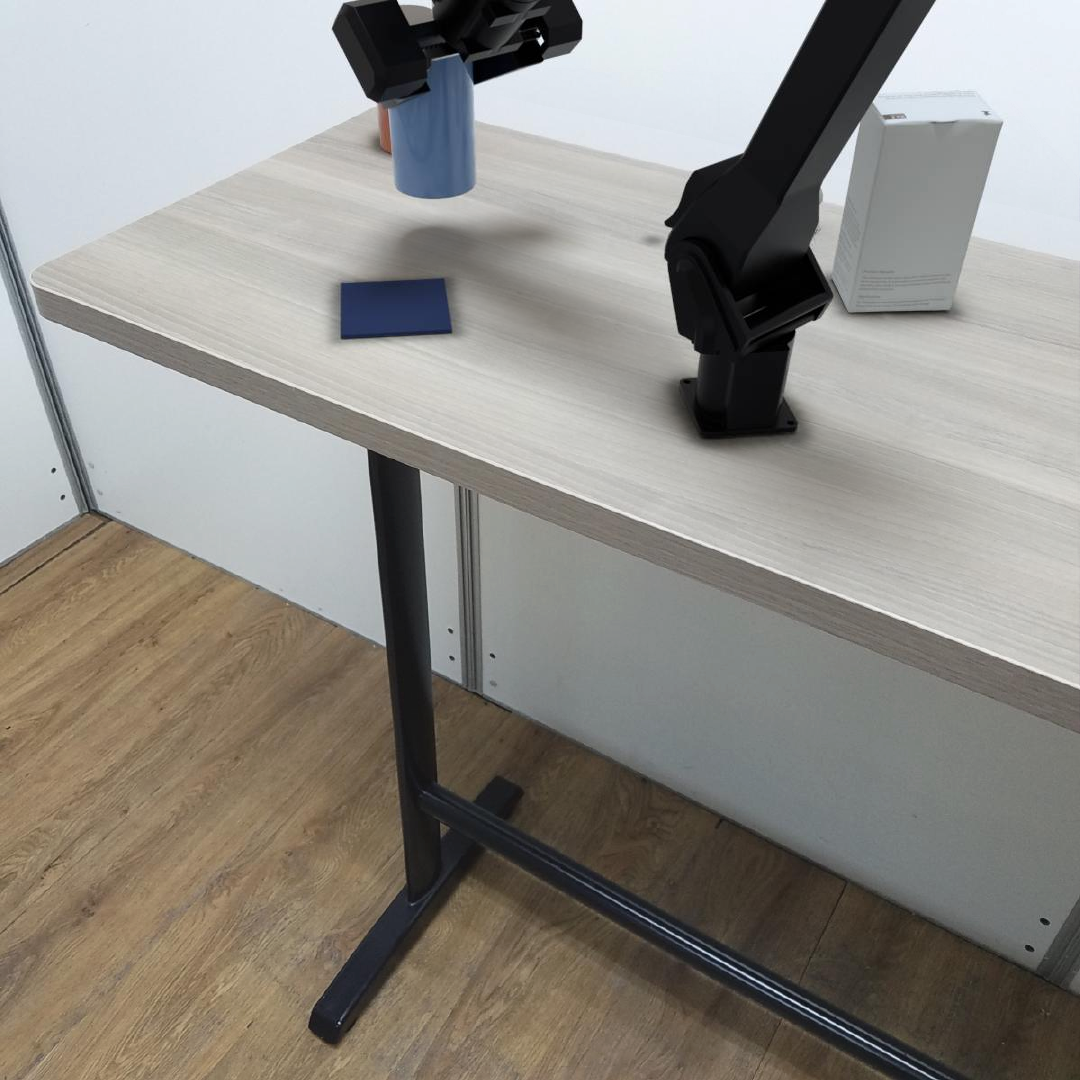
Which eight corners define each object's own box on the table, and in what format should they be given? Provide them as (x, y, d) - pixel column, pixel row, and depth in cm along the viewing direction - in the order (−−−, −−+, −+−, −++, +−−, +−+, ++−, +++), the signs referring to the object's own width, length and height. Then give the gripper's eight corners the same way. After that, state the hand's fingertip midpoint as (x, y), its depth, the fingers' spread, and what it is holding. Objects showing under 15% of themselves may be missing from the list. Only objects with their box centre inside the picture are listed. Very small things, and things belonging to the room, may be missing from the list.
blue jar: (485, 194, 85) (481, 32, 78) (402, 203, 84) (390, 38, 76) (466, 163, 90) (460, 8, 82) (387, 171, 89) (374, 13, 81)
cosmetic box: (927, 278, 87) (980, 87, 77) (952, 315, 82) (1011, 117, 72) (824, 278, 86) (864, 86, 77) (843, 316, 82) (887, 116, 72)
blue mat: (452, 332, 79) (451, 329, 79) (341, 338, 78) (340, 335, 78) (444, 281, 85) (444, 277, 85) (341, 286, 84) (340, 282, 84)
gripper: (561, -166, 74) (467, -21, 88) (330, -138, 65) (264, 20, 78) (634, -18, 75) (530, 104, 88) (416, 31, 65) (336, 159, 79)
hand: (420, 93), depth 83 cm, fingers closed on blue jar, 6 cm apart
